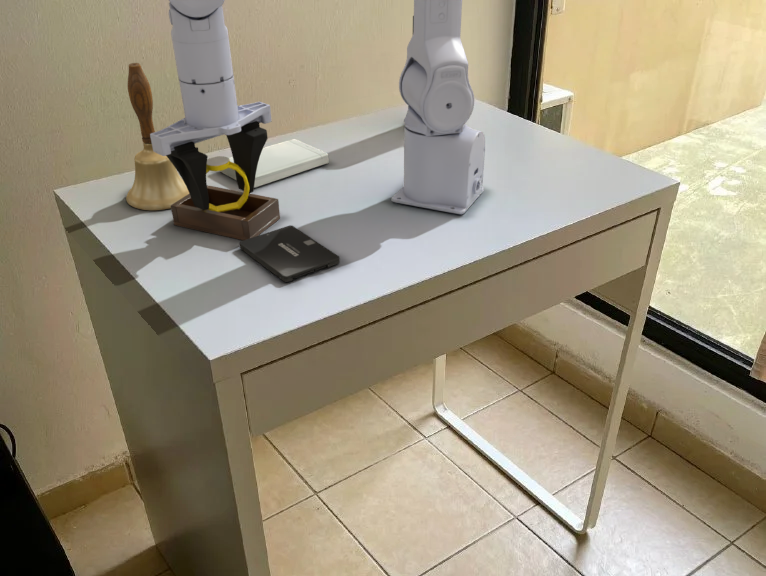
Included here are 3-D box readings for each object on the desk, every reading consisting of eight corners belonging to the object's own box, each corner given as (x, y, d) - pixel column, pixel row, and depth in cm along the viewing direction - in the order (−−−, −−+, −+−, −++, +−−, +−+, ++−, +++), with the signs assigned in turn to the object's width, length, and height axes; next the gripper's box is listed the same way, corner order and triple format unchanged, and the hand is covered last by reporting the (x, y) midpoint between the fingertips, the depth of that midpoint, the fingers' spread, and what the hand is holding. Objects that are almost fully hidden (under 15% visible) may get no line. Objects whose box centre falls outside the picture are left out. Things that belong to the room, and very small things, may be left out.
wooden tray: (280, 218, 92) (278, 198, 91) (250, 241, 87) (247, 221, 86) (206, 203, 96) (203, 184, 94) (173, 225, 91) (170, 205, 89)
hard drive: (251, 177, 98) (328, 152, 104) (216, 159, 103) (292, 136, 109) (253, 190, 99) (329, 164, 105) (218, 171, 104) (293, 148, 110)
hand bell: (207, 195, 97) (185, 62, 88) (151, 217, 93) (121, 78, 83) (169, 178, 102) (144, 49, 92) (113, 197, 97) (81, 64, 87)
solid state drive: (292, 230, 89) (291, 224, 89) (341, 263, 83) (340, 257, 83) (238, 247, 86) (237, 242, 86) (285, 283, 80) (285, 277, 79)
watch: (249, 201, 92) (243, 152, 89) (253, 211, 90) (247, 161, 86) (199, 208, 91) (190, 158, 87) (201, 218, 89) (192, 167, 85)
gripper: (168, 101, 75) (191, 229, 83) (283, 69, 83) (294, 189, 91) (130, 86, 79) (155, 210, 87) (243, 57, 87) (257, 173, 95)
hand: (224, 198), depth 90 cm, fingers closed on watch, 6 cm apart
